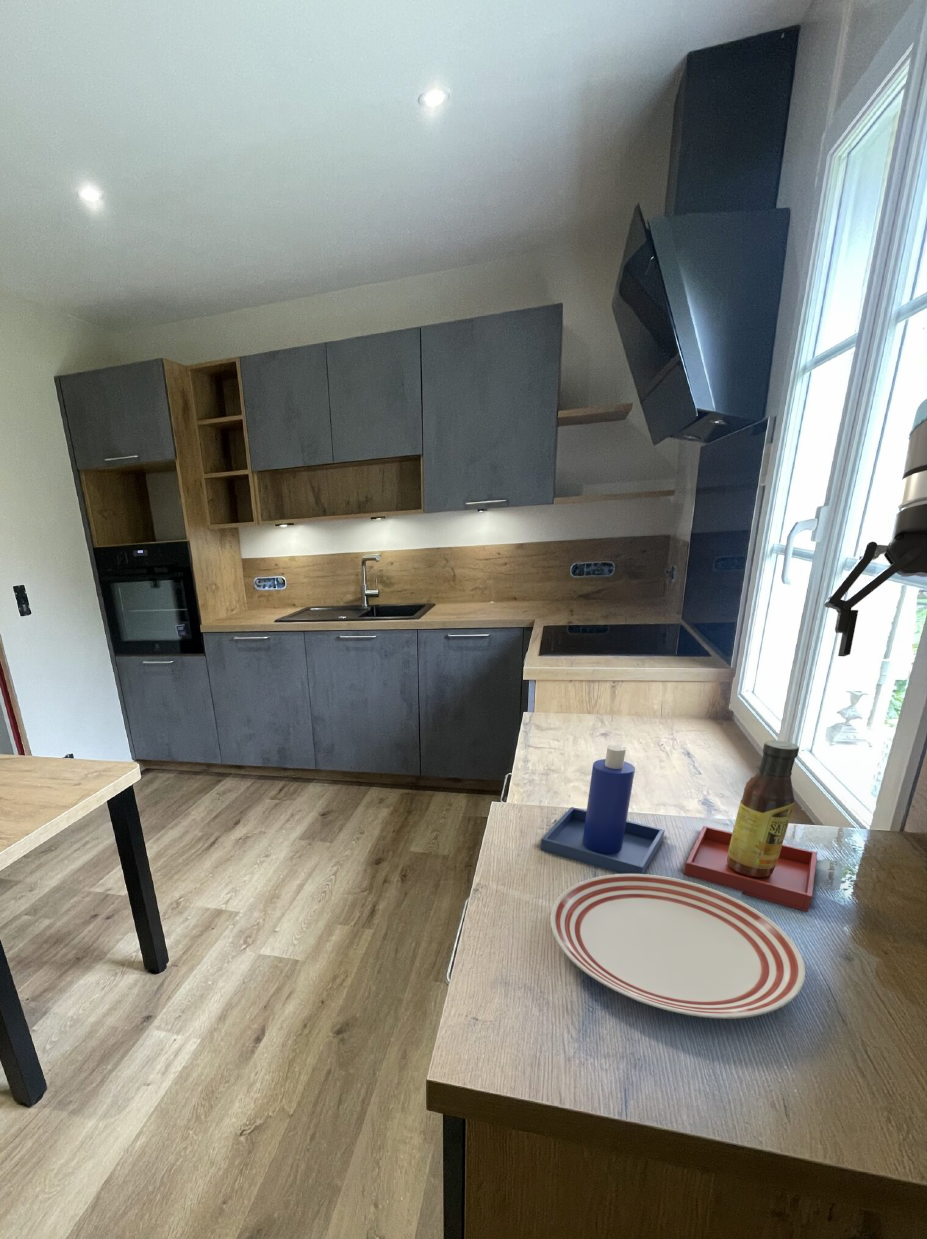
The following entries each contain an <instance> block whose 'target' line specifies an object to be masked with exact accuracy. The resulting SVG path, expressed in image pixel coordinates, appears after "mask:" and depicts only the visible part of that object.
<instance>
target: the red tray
mask: <svg viewBox="0 0 927 1239" xmlns="http://www.w3.org/2000/svg"><path fill="white" fill-rule="evenodd" d="M732 833H733V831H732V832H731V831H727V830H724V829H719V828H715V827H710V826H706V825H703V826H702V828H701V830H700V832H699V834H698V836H697V839H696V841H695V842H694V845H693V847H692V849H691V851H690V854H689V855H688V858H687V860H686V862H685V865H684V870H683V876H688V877H691V878H695V879H699V880H701V881H705V882H709V883H712V884H715V885H718V886H719V885H720V886H723V887H726V888H730V889H734V890H738V891H740V892H741V891H742V893H741V894H742V895H745V896H749V897H753V898H756V899H760V900H763V901H767V902H771V903H774V904H777V905H782V906H785V907H789V908H792V909H796V910H800V911H802V912H806V913H808V912H809V908H810V905H811V902H812V899H813V894H814V884H815V876H816V868H817V857H818V851H813V850H809V849H805V848H801V847H796V846H792V845H788V844H784V843H783V844H782V848H781V851H780V855H779V858H778V862H777V865H776V867H775V868H774V871H773V873H772V875H770V876H768V877H761V878H758V877H749V876H745V875H743V874H740V873H737V872H735V871H734V870H732V869H731V868H730V867H729V866H728V864H727V857H728V850H729V845H730V841H731V837H732Z"/></svg>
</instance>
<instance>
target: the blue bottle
mask: <svg viewBox="0 0 927 1239" xmlns="http://www.w3.org/2000/svg"><path fill="white" fill-rule="evenodd" d="M626 750H627V748H626V747H624V746H622V745H620V744H619V745H617V744H609V745H608V746H607V747H606V755H605V758H603V759H598V760H595V761H594V762H592V769H591V776H590V784H589V791H588V798H587V804H586V811H587V812H586V819H585V827H584V834H583V841H582V843H583V845H584V846H585V847H586V848H587V849H589V850H591V851H593V852H596V853H601V854H615V853H618V852H620V851H621V849H622V845H623V839H624V833H625V827H626V821H628V814H629V808H630V802H631V797H632V789H633V784H634V778H635V772H636V767H635V766H634V764H632V763H630V762H628V761H626V760H625V758H626Z"/></svg>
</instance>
